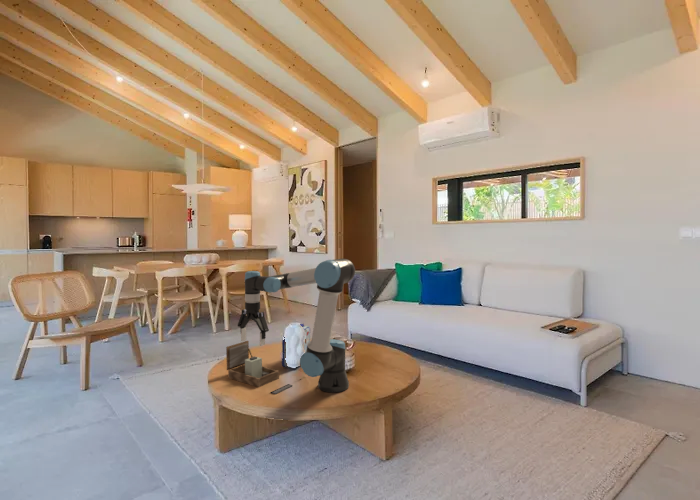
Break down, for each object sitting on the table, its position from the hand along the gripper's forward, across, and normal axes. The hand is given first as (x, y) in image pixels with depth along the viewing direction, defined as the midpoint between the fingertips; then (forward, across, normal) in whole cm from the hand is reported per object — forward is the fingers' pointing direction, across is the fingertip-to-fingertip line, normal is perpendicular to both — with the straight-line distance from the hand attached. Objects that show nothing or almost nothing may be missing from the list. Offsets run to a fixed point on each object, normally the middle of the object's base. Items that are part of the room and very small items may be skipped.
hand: (252, 342), depth 213 cm
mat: (+19, -17, +1) cm, 26 cm away
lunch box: (+20, -1, -32) cm, 38 cm away
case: (+19, 0, 0) cm, 19 cm away
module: (+18, 0, 0) cm, 18 cm away
